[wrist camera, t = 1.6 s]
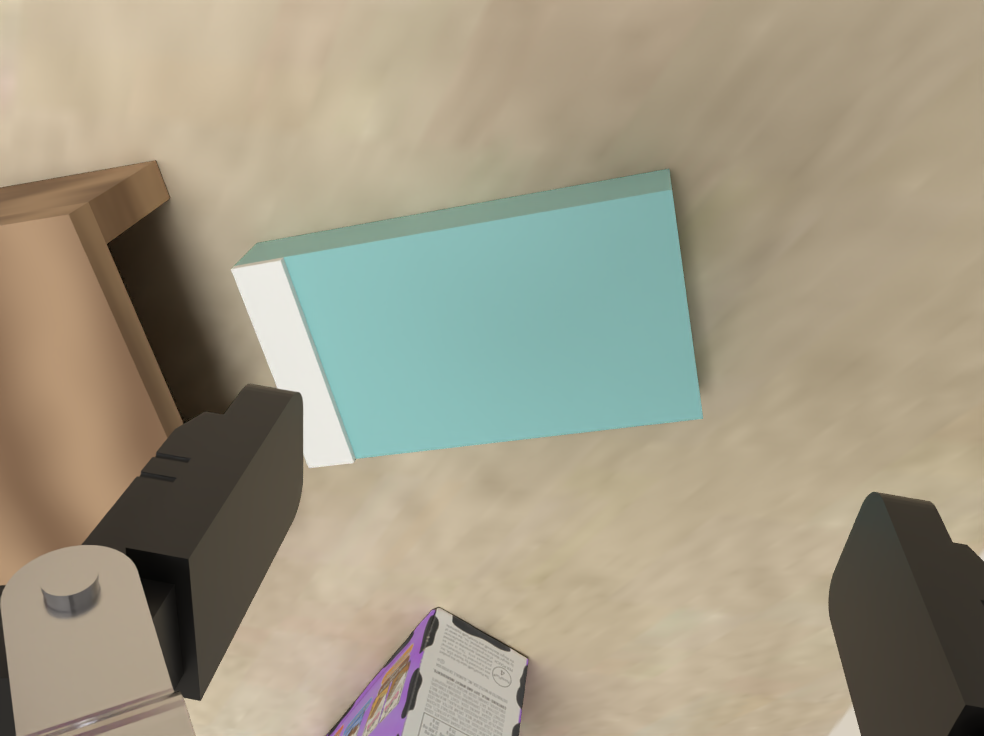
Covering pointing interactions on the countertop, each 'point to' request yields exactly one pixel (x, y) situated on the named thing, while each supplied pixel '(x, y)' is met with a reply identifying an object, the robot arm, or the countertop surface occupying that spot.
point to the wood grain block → (72, 360)
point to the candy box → (442, 686)
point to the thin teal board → (480, 321)
